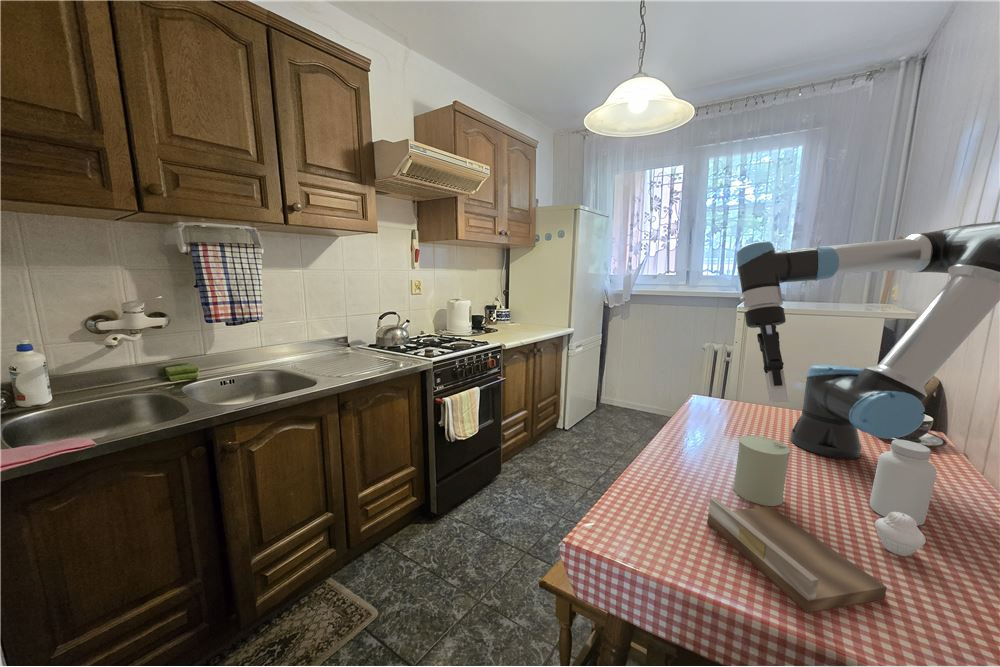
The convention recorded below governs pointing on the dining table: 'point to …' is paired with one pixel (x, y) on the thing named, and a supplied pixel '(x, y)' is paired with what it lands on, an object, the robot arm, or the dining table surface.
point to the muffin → (899, 533)
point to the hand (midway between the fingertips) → (778, 401)
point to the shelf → (794, 558)
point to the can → (761, 470)
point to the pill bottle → (904, 481)
